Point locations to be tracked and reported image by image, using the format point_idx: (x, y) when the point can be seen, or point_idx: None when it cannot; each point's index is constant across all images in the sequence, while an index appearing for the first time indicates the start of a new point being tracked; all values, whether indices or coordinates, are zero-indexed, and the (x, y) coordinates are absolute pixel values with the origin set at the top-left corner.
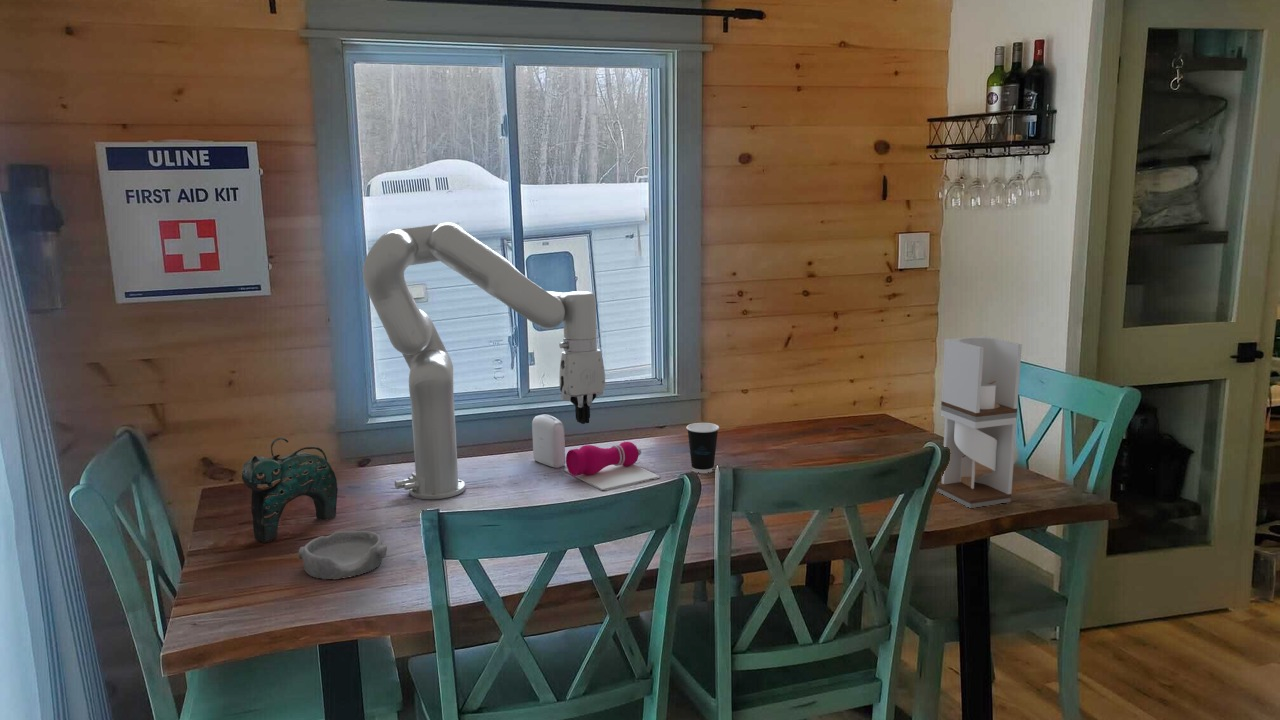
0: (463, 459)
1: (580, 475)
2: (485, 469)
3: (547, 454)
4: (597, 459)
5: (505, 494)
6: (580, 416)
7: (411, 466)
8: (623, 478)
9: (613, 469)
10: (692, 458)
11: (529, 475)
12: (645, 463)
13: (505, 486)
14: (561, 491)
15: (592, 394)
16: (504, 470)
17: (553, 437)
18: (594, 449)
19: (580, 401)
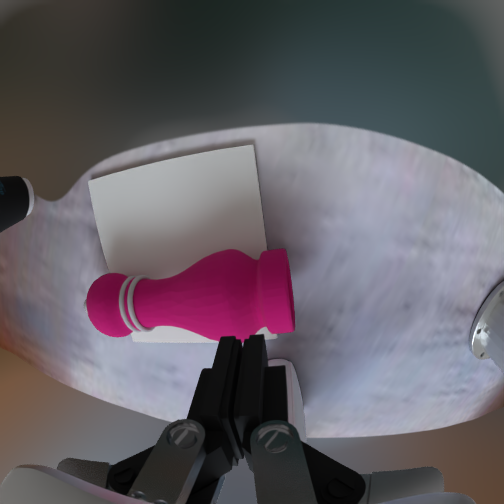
0: (390, 433)
1: None
2: (398, 392)
3: (299, 392)
4: (214, 259)
5: (453, 248)
6: (273, 377)
7: (450, 418)
8: (165, 202)
9: None
10: (16, 198)
11: (358, 341)
12: None
13: (430, 296)
14: (352, 199)
15: (132, 491)
16: (378, 381)
17: (292, 416)
18: (210, 293)
19: (275, 466)
